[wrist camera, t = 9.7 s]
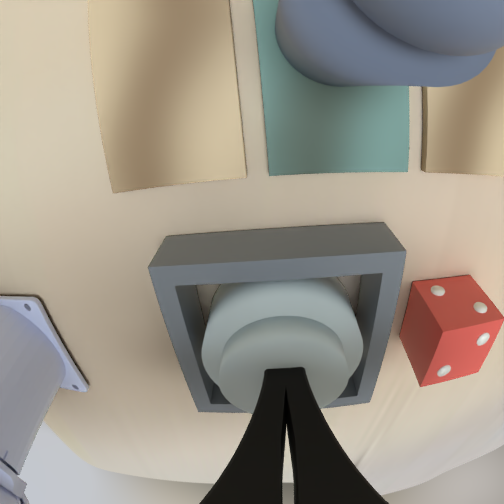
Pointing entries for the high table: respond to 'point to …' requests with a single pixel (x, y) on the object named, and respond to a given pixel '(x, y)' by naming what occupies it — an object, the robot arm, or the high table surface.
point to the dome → (281, 337)
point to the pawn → (389, 40)
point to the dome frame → (273, 269)
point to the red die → (448, 328)
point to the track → (274, 100)
